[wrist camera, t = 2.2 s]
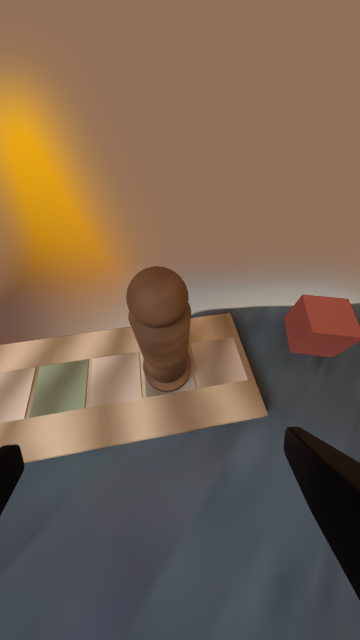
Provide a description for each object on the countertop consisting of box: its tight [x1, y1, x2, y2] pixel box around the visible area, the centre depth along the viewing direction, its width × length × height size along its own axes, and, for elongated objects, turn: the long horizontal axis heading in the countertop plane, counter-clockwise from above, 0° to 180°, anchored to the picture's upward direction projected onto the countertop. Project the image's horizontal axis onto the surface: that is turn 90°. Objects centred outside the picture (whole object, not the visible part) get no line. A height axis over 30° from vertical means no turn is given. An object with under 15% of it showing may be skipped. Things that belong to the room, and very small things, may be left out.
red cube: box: [284, 295, 360, 357], centre depth 21 cm, size 4×4×4 cm
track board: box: [0, 313, 268, 463], centre depth 20 cm, size 26×11×1 cm, turn 100°
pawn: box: [126, 267, 191, 392], centre depth 14 cm, size 4×4×12 cm
